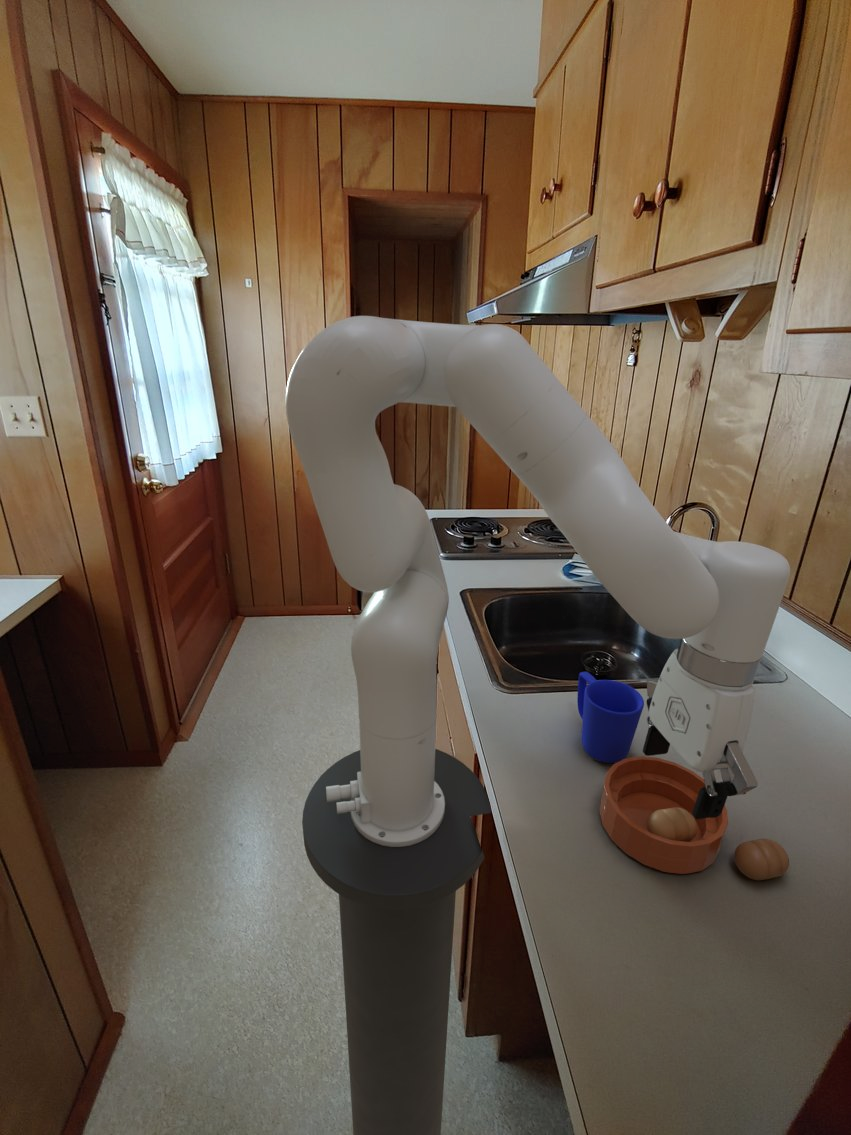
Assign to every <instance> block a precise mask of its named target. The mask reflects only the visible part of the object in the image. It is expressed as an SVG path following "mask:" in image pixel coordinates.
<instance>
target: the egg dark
mask: <svg viewBox="0 0 851 1135" xmlns="http://www.w3.org/2000/svg"><path fill="white" fill-rule="evenodd" d="M733 857H734V862H735V865H736V867H737V868H738V870H739V871H740V872H741V874H743V875H744V876H745V877H747V878H748V879H751V880H753V881H754V880H755V881H765V880H770V879H773V878H779V877H781V876H783V875H784V874H786V873H787V871H788V869H789V866H790V859H789V855H788V853H787V851H786V849H784V847H783V846H782V844H780V843H778V842H777V841H776V840H773V839H770V838H757V839H752V840H746V841H744V842H741V843H739V844H738V845H737V846H736V848H735V850H734V853H733Z"/></svg>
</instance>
